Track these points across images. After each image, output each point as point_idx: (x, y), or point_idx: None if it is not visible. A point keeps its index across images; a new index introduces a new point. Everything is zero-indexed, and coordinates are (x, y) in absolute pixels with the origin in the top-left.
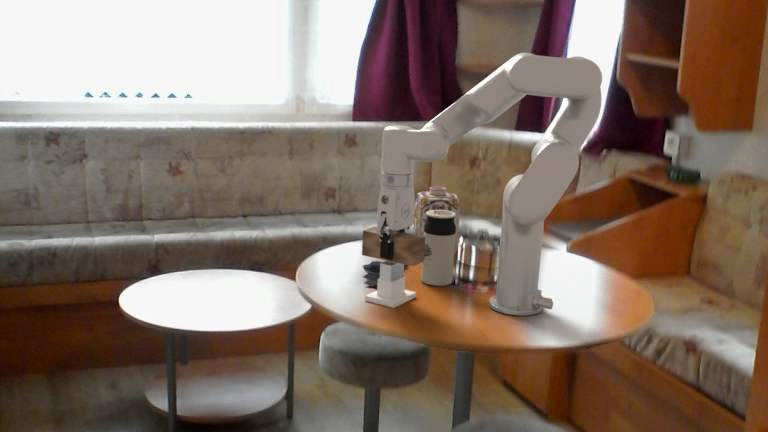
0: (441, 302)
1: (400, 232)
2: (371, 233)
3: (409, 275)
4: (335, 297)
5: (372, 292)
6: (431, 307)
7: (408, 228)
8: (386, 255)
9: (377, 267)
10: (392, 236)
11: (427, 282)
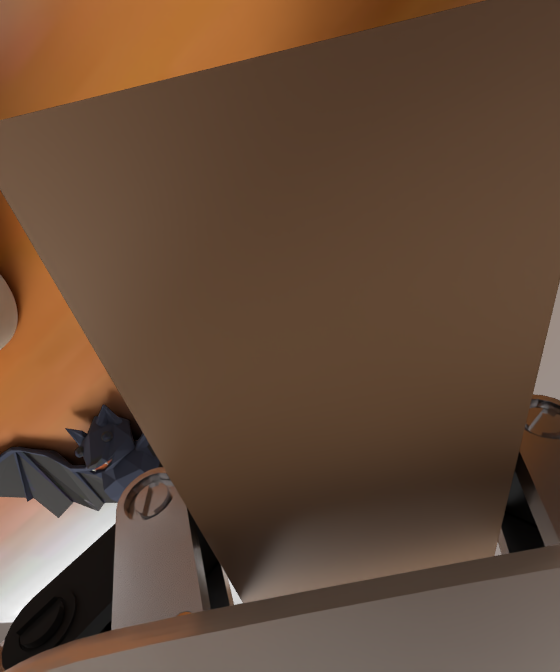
0: (101, 42)
1: (248, 547)
2: None
3: (21, 402)
4: None
5: None
6: (210, 20)
7: (54, 601)
8: None
9: (147, 465)
10: (546, 470)
11: (6, 292)
